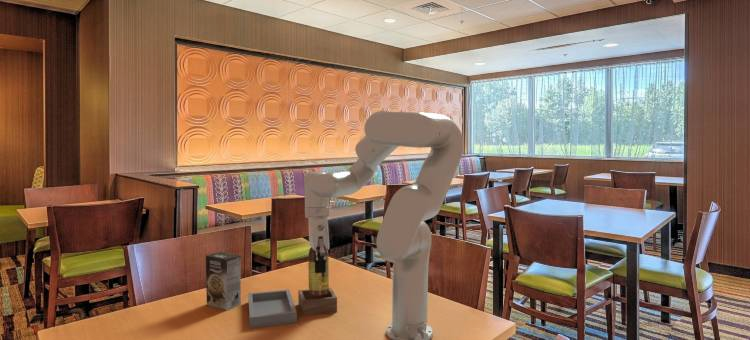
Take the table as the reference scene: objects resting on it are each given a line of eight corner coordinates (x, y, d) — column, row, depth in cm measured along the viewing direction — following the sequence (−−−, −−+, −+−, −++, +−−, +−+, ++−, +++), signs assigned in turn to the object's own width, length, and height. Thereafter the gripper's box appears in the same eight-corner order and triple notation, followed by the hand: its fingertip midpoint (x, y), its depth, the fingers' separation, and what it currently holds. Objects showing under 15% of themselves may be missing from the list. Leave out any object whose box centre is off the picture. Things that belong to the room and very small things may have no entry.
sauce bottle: (325, 297, 133) (324, 232, 131) (305, 296, 134) (304, 232, 132) (331, 290, 139) (330, 228, 138) (313, 289, 140) (311, 227, 139)
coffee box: (205, 305, 139) (204, 255, 138) (221, 299, 144) (220, 250, 143) (226, 311, 135) (225, 259, 133) (242, 304, 140) (241, 254, 139)
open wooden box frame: (337, 311, 134) (337, 297, 134) (302, 315, 131) (302, 301, 131) (330, 300, 143) (330, 287, 143) (298, 304, 140) (298, 290, 140)
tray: (296, 322, 126) (296, 312, 126) (249, 328, 123) (249, 317, 122) (289, 298, 146) (289, 289, 145) (248, 302, 142) (248, 293, 141)
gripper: (335, 215, 128) (336, 276, 129) (324, 207, 144) (325, 261, 145) (309, 217, 126) (310, 278, 127) (301, 208, 142) (302, 263, 143)
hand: (318, 268), depth 136 cm, fingers closed on sauce bottle, 6 cm apart
